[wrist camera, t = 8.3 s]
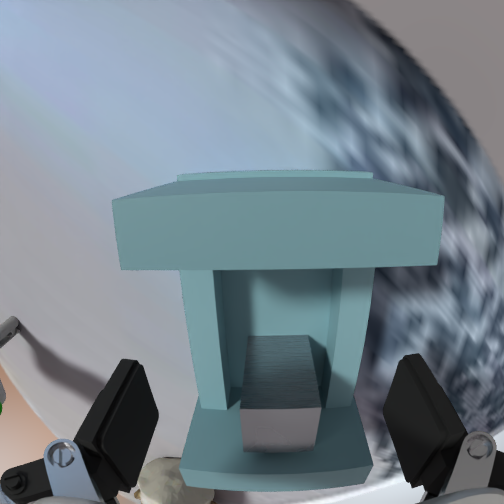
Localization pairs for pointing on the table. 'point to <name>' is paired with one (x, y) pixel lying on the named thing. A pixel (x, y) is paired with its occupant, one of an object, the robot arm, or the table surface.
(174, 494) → the ceramic sculpture
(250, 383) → the brushed grey metal block
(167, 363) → the table surface
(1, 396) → the mechanical component
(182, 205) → the teal open frame
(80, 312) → the table surface
